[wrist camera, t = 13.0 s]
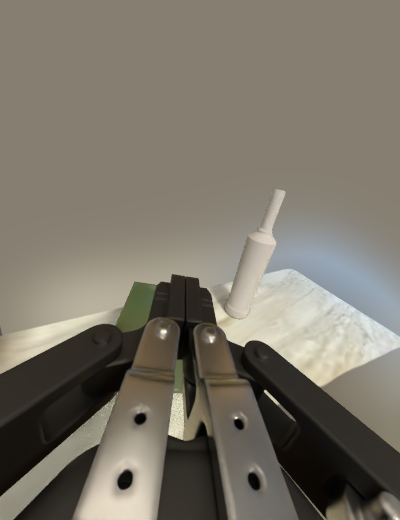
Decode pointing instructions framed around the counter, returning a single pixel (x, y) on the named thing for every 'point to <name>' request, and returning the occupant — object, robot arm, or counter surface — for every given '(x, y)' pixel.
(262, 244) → the bottle
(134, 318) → the lid
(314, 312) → the counter surface
